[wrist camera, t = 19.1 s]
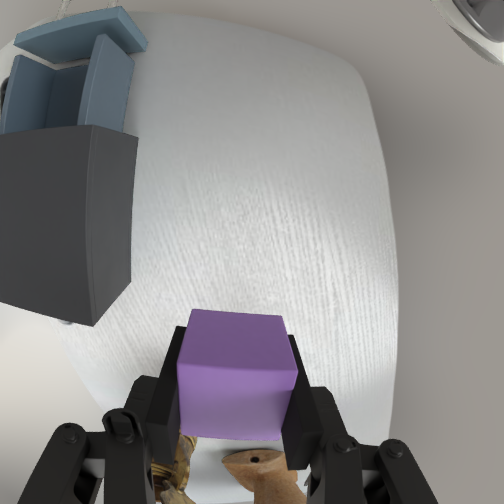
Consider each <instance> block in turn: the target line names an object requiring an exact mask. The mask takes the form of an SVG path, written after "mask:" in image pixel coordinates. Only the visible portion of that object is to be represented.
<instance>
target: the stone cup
mask: <svg viewBox="0 0 504 504" xmlns="http://www.w3.org/2000/svg"><path fill="white" fill-rule="evenodd" d="M222 463H223V464H224V465H225V467H226V468H227V469H228V471H229V472H230V473H231V474H232V475H233V476H234V477H235V479H236V480H237V481H238V482H239V483H240V484H241V485H242V486H243V487H244V488H246V489H247V490H249V491H251V492H254V504H306V502H307V497H306V496H305V495H304V494H303V493H302V491H301V490H300V489H299V487H298V486H297V484H296V481H297V471H296V470H291V471H288V469H287V464H286V458H285V453H284V452H281V451H274V450H262V449H259V450H256V449H255V450H248V451H243V452H239V453H234V454H232V455H229V456H226V457H224V458H223V459H222Z"/></svg>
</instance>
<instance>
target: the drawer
mask: <svg viewBox="0 0 504 504" xmlns="http://www.w3.org/2000/svg"><path fill="white" fill-rule="evenodd" d="M62 1H63V2H62V4H61V7H60V9H59V11H58V14H57V16H56V19H55V21H53V22H50V23H47V24H44V25H41V26H38V27H35V28H32V29H29V30H27V31H24V32H21V33H19V34H17V36H16V38H15V41H14V44H13V45H14V46H17V47H19V48H21V49H23V50H26V51H28V52H30V53H32V54H34V55H36V56H39V57H41V58H43V59H45V60H47V61H49V62H51V63H53V64H56V63H61V62H66V61H71V60H76V59H82V58H88V57H91V58H90V62H89V65H83V66H77V67H71V68H66V69H61V70H54V69H52V68H50V67H48V66H45V65H43V64H41V63H39V62H37V61H34V60H32V59H30V58H27V57H25V56H23V55H18V56H15V59H14V62H13V66H12V69H11V73H10V77H9V81H8V85H7V89H6V94H5V98H4V103H3V109H2V114H1V120H0V135H1V134H7V133H13V132H20V131H27V130H34V129H43V128H52V127H63V126H75V125H97V126H101V127H104V128H108V129H111V130H115V131H118V132H122V131H123V124H124V117H125V111H126V105H127V99H128V94H129V88H130V83H131V79H132V74H133V69H134V65H135V62H134V61H133V60H132V59H131V58H130V57H129V56H128V55H127V54H126V53H131V52H145V51H146V47H147V43H148V41H147V40H146V38H145V37H144V36H143V34H142V33H141V32H140V30H139V29H138V27H137V26H136V25H135V23H134V22H133V21H132V19H131V18H130V17H129V15H128V14H127V13H126V11H125V10H124V9H123V7H122V6H118V7H116V4H117V2H118V0H110V1H109V4H108V6H107V8H106V9H101V10H96V11H91V12H87V13H82V14H78V15H74V16H70V17H67V18H63V17H64V14H65V11H66V9H67V7H68V4H69V2H70V0H62Z"/></svg>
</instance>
